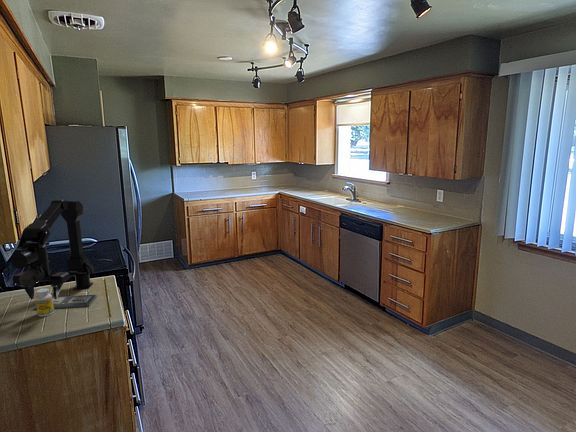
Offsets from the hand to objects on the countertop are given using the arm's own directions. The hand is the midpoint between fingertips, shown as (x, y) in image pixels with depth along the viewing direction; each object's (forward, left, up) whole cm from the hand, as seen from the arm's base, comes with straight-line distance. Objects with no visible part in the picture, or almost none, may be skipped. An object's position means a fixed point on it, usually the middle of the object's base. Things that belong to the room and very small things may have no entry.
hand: (44, 298), depth 144 cm
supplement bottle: (0, 0, -6) cm, 6 cm away
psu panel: (-9, +4, -6) cm, 11 cm away
